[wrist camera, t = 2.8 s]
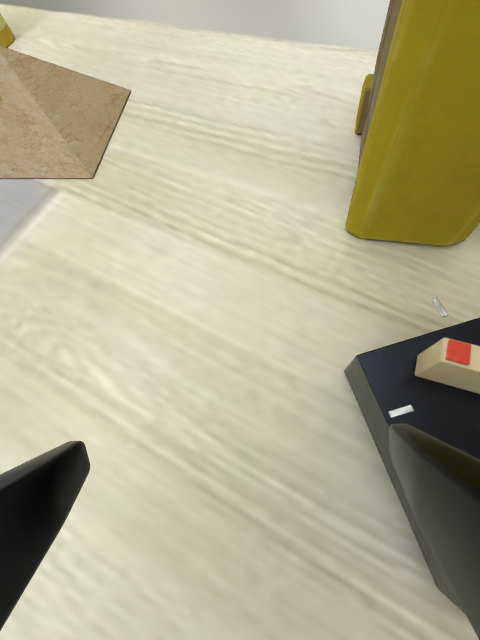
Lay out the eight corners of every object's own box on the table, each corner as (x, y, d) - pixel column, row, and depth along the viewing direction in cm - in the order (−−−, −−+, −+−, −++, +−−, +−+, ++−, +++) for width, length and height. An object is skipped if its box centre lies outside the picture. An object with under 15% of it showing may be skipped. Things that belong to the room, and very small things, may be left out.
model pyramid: (132, 88, 43) (91, -10, 34) (92, 178, 36) (28, 89, 27) (32, 93, 46) (-30, 6, 37) (-20, 178, 39) (-111, 98, 30)
